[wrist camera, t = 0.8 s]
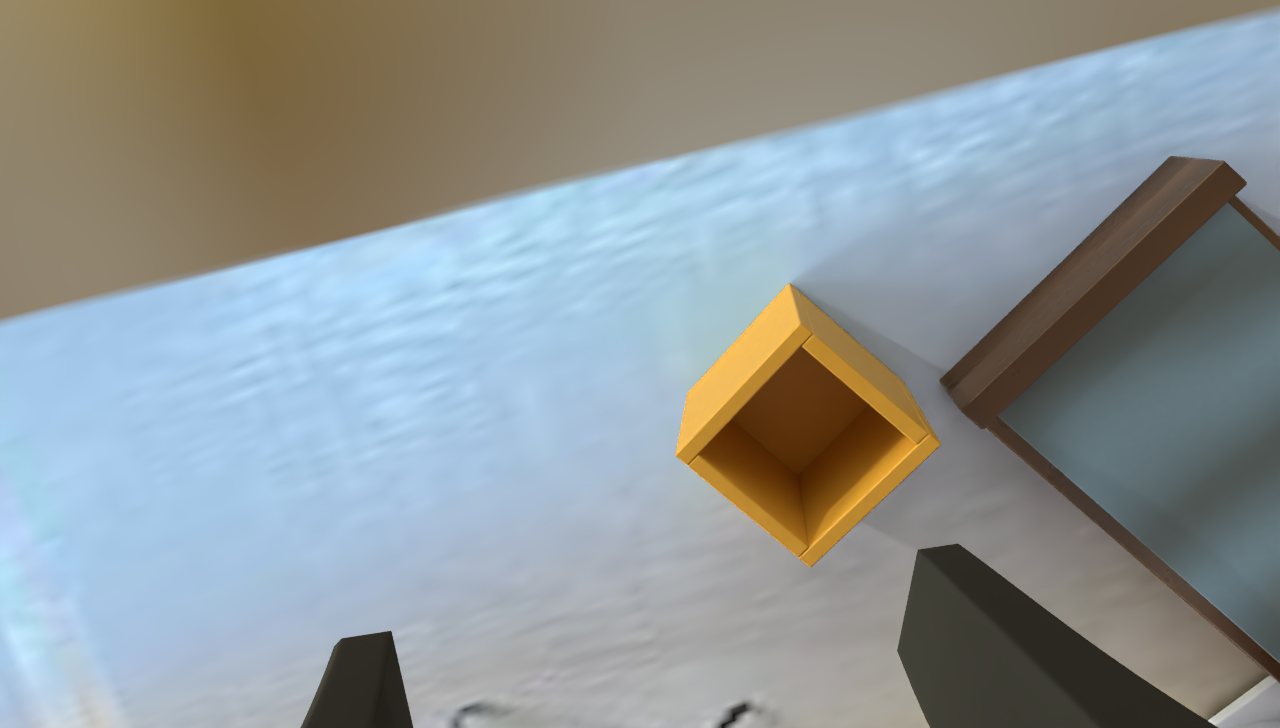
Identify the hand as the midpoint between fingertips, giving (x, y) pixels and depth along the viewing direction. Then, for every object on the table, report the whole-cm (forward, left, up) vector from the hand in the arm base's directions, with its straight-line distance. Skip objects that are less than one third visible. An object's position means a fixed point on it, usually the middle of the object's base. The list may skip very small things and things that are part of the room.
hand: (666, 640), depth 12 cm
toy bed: (-16, -8, -20) cm, 27 cm away
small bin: (-4, 0, -20) cm, 20 cm away
